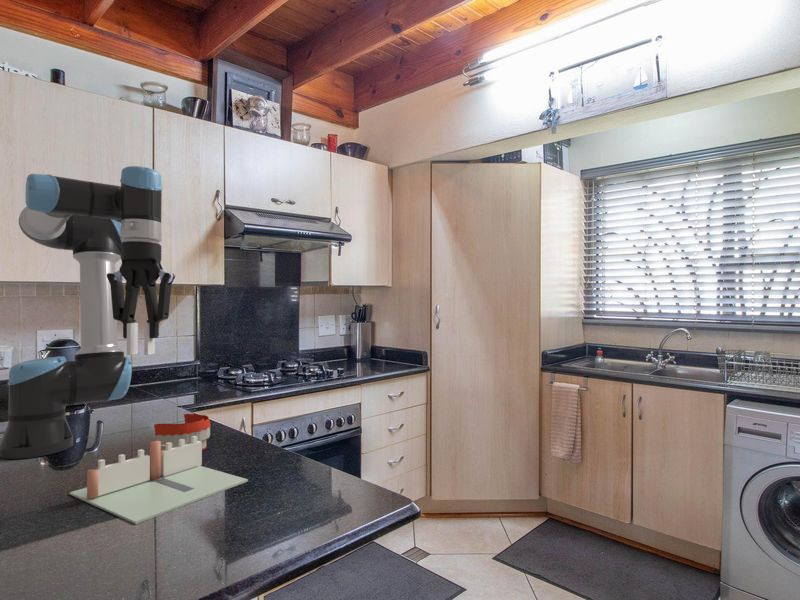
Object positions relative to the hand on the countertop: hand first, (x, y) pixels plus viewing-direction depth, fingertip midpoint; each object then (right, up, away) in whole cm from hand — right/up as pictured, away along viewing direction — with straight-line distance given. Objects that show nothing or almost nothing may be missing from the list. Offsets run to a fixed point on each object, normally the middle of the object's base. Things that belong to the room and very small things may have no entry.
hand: (140, 354), depth 98 cm
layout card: (+6, -26, -4) cm, 27 cm away
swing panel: (-1, -26, -6) cm, 26 cm away
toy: (+1, -27, +21) cm, 34 cm away
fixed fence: (+6, -27, +4) cm, 27 cm away
